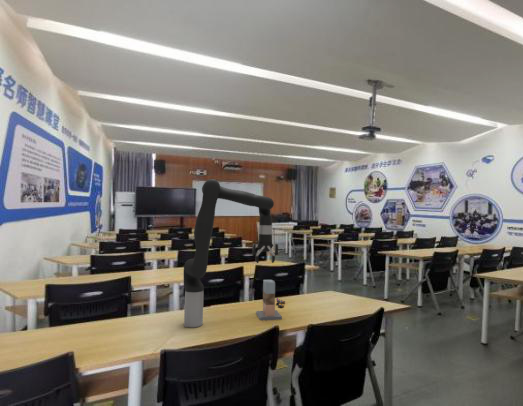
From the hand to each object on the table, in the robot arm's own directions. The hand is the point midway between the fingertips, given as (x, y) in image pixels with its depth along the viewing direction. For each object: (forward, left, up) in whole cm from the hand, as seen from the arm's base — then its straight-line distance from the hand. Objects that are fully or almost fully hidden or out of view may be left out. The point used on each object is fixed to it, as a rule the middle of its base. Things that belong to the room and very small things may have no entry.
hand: (265, 262), depth 183 cm
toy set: (+14, +23, -31) cm, 41 cm away
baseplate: (+3, +2, -30) cm, 30 cm away
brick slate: (+3, +2, -17) cm, 17 cm away
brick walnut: (+3, +2, -23) cm, 23 cm away
